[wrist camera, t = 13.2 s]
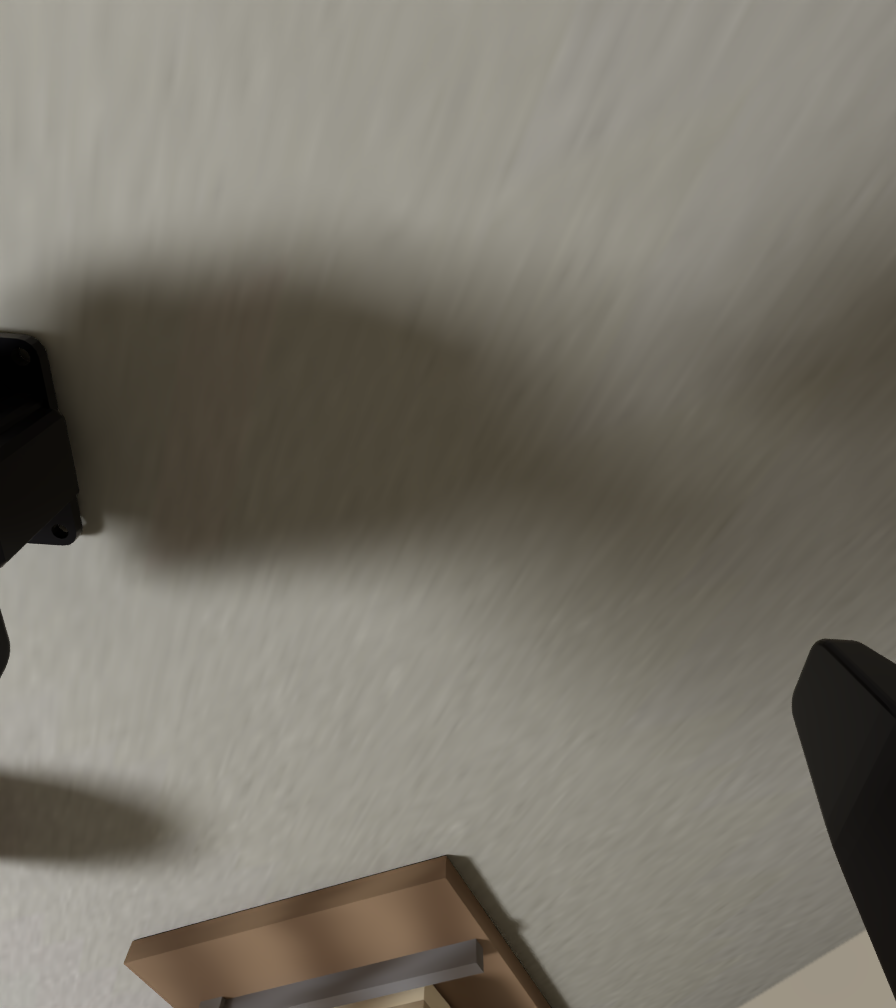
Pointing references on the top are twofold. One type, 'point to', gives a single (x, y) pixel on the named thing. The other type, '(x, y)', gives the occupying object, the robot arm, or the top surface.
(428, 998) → the light wooden tray
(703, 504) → the top surface
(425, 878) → the open wooden tray
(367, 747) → the top surface
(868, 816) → the robot arm
